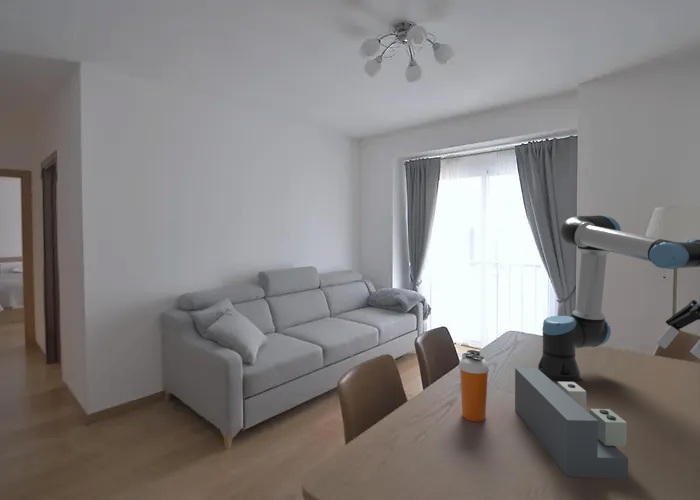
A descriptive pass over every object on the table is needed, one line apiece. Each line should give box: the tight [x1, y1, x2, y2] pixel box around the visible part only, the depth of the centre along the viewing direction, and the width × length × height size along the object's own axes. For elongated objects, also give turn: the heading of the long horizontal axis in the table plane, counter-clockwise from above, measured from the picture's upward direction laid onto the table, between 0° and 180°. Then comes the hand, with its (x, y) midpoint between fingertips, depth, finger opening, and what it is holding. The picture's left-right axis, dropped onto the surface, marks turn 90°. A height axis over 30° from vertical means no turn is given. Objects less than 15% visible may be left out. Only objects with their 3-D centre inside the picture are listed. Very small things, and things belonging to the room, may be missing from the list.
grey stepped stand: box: [514, 367, 629, 480], centre depth 106 cm, size 14×34×14 cm, turn 176°
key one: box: [556, 381, 587, 411], centre depth 114 cm, size 5×7×6 cm
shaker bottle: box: [458, 352, 490, 422], centre depth 119 cm, size 9×9×20 cm
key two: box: [589, 408, 628, 447], centre depth 96 cm, size 5×7×6 cm
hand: (676, 350), depth 104 cm, fingers open, 13 cm apart
